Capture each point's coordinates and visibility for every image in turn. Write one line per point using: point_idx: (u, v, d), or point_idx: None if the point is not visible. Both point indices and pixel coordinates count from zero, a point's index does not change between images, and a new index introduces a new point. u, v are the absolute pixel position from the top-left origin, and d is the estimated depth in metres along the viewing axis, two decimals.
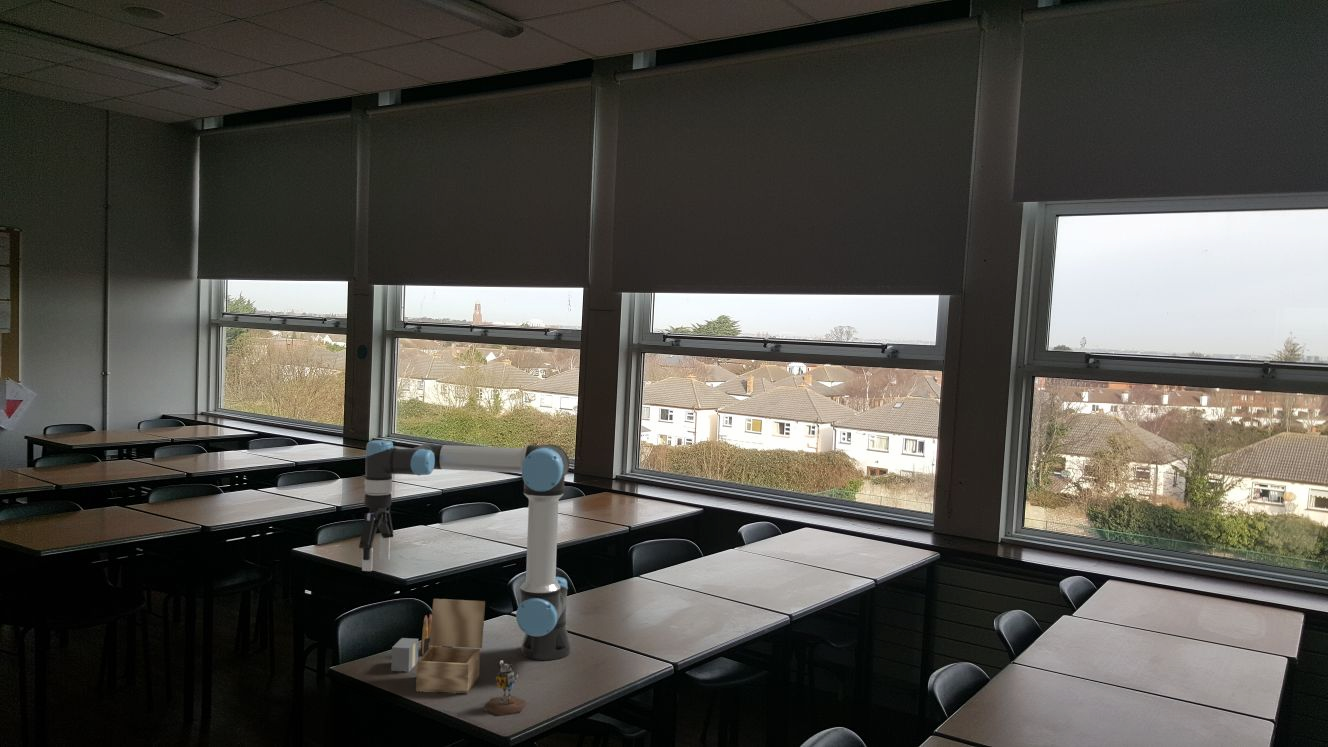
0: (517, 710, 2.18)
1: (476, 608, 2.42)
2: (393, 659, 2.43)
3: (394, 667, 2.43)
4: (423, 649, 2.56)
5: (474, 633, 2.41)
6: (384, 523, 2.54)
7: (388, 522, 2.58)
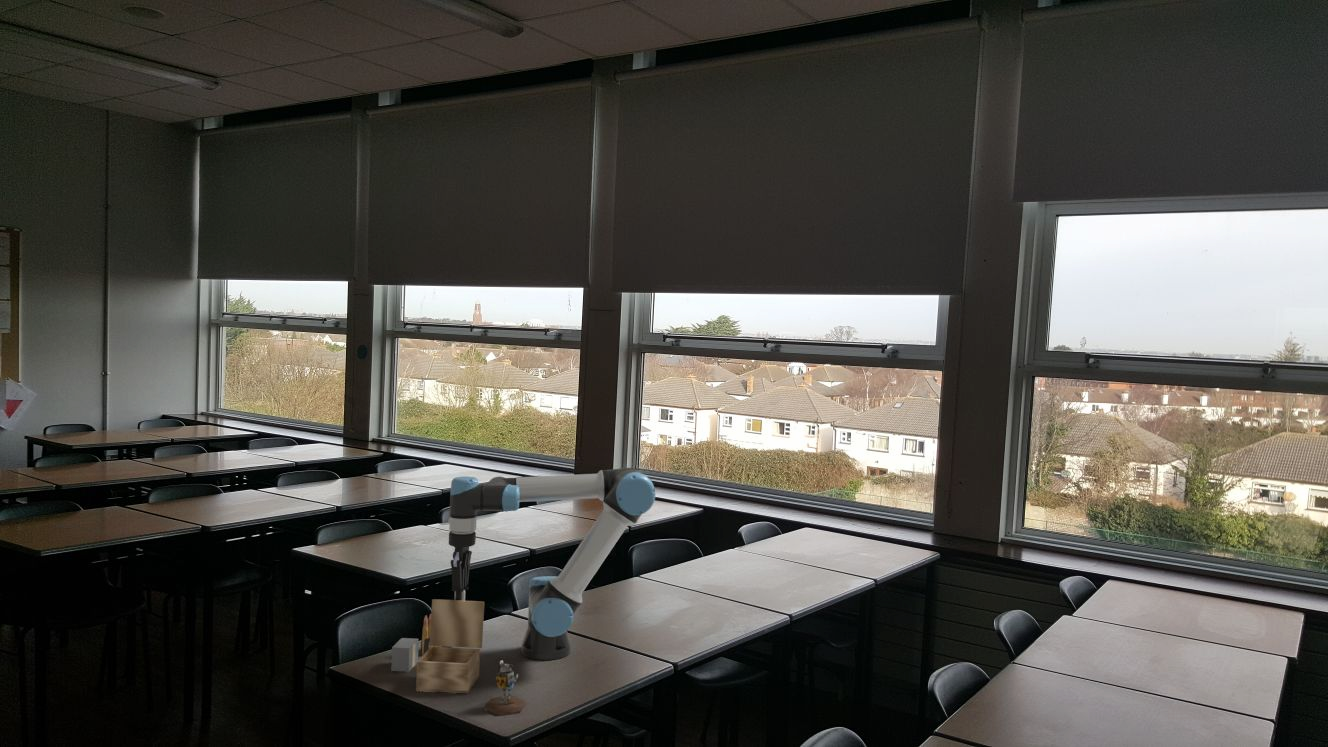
0: (517, 710, 2.18)
1: (475, 609, 2.41)
2: (393, 659, 2.43)
3: (394, 667, 2.43)
4: (423, 649, 2.56)
5: (474, 633, 2.41)
6: None
7: (466, 568, 2.47)
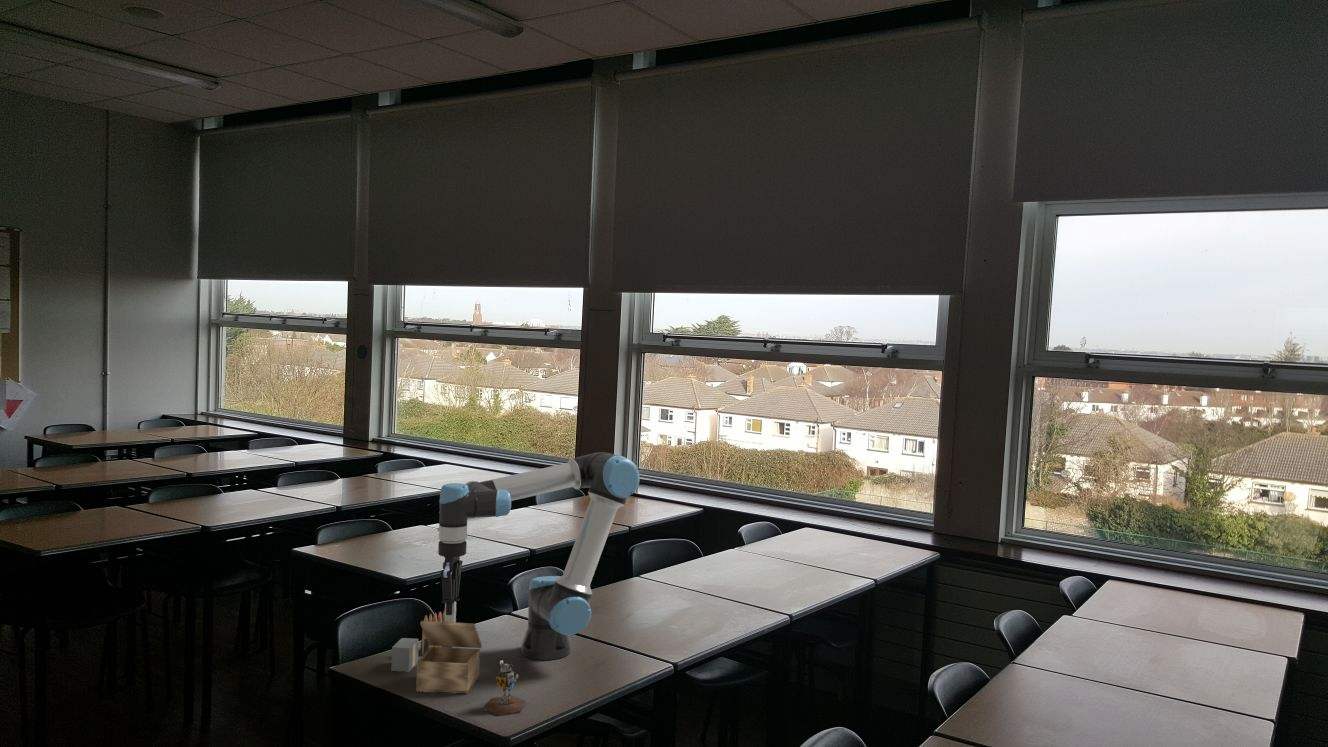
0: (517, 710, 2.18)
1: (467, 629, 2.33)
2: (393, 659, 2.43)
3: (394, 667, 2.43)
4: (423, 649, 2.56)
5: (471, 641, 2.38)
6: None
7: (457, 579, 2.38)
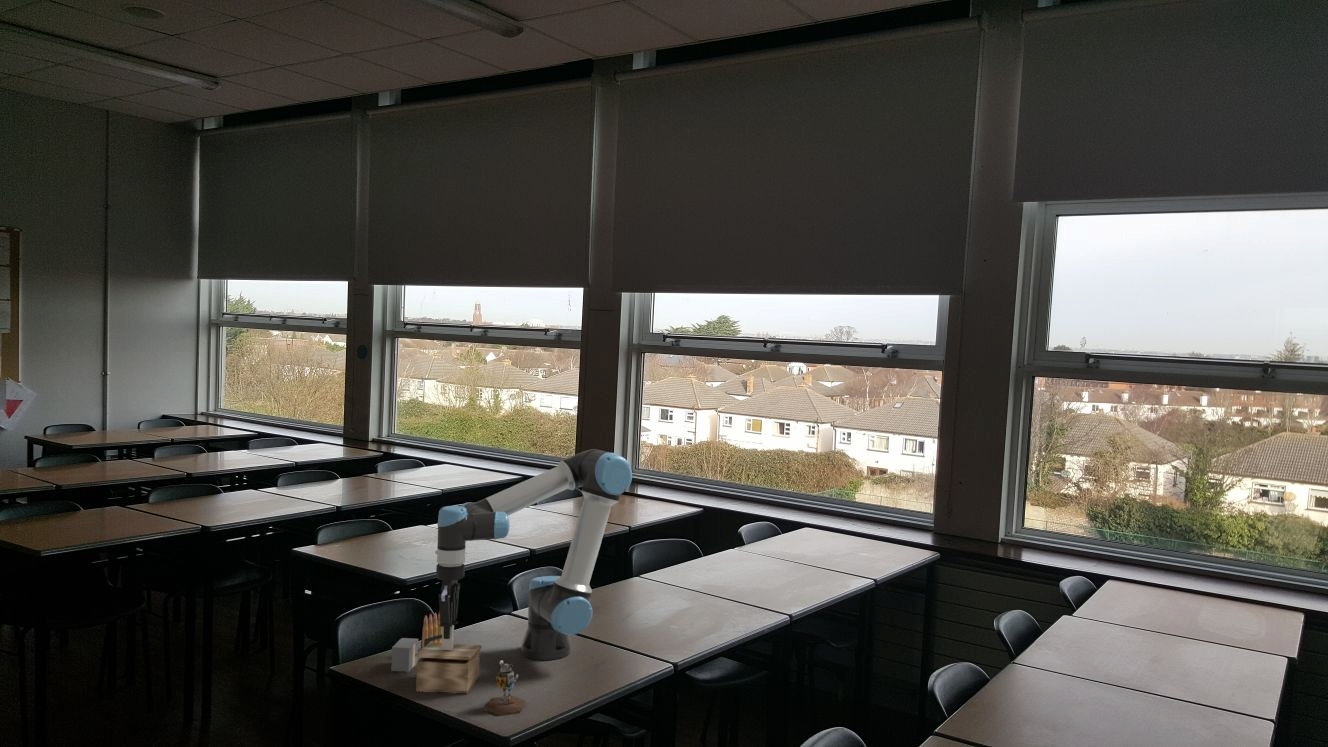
0: (517, 710, 2.18)
1: None
2: (393, 659, 2.43)
3: (394, 667, 2.43)
4: None
5: None
6: None
7: None
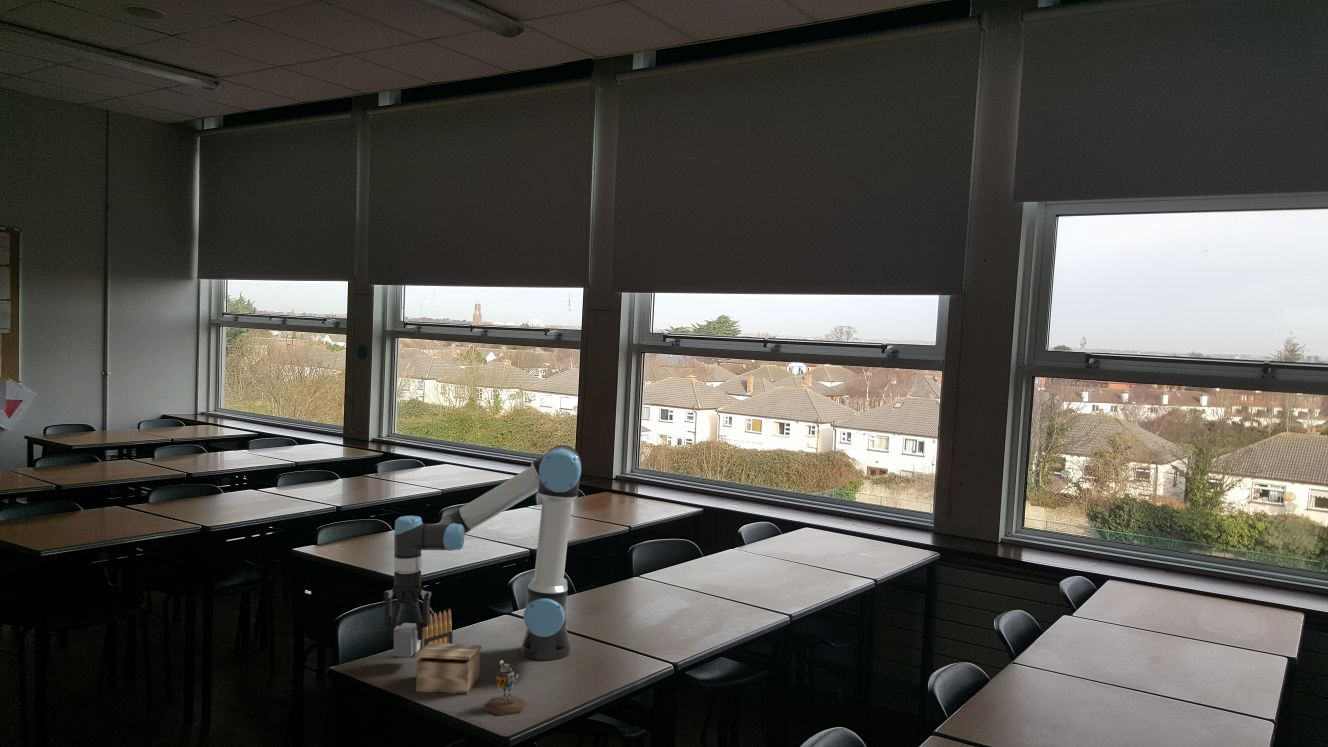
0: (517, 710, 2.18)
1: None
2: (395, 643, 2.42)
3: (396, 651, 2.43)
4: None
5: None
6: None
7: None
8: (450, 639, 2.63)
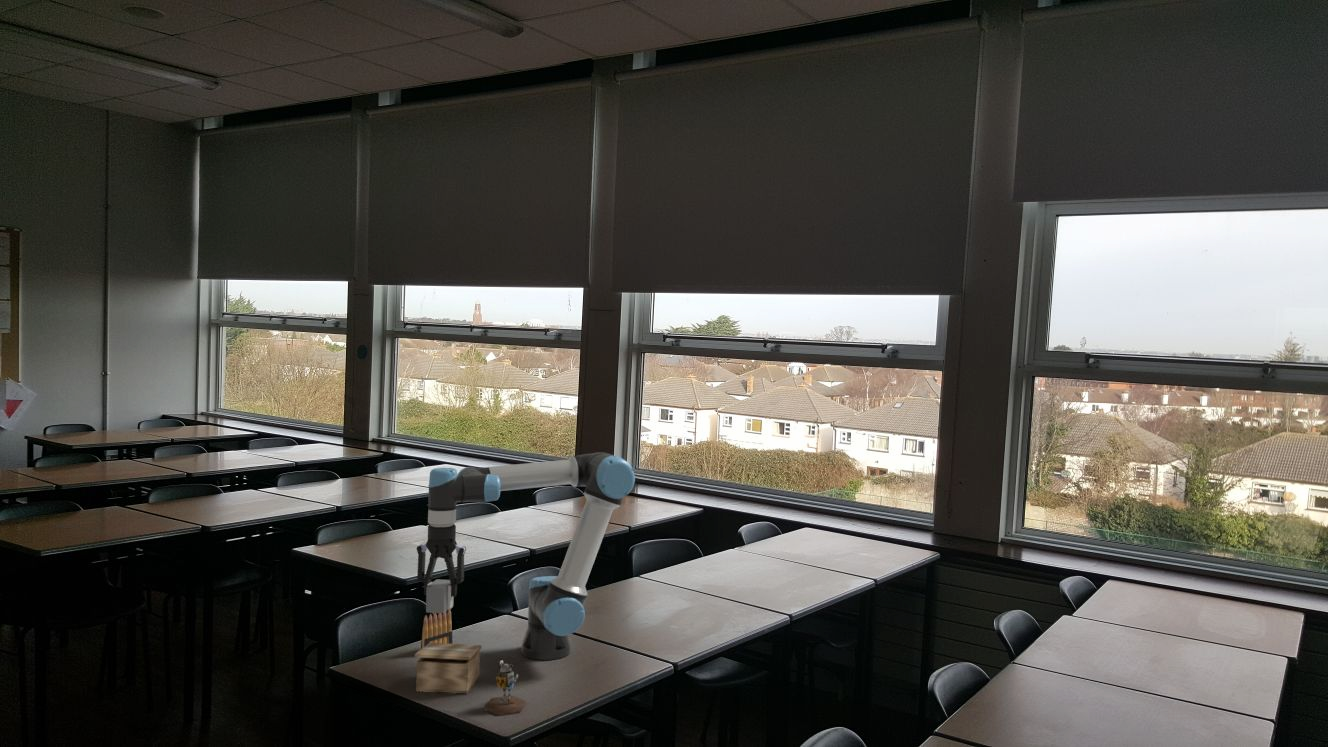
0: (517, 710, 2.18)
1: None
2: (428, 599, 2.33)
3: (428, 607, 2.33)
4: None
5: None
6: None
7: None
8: (450, 639, 2.63)
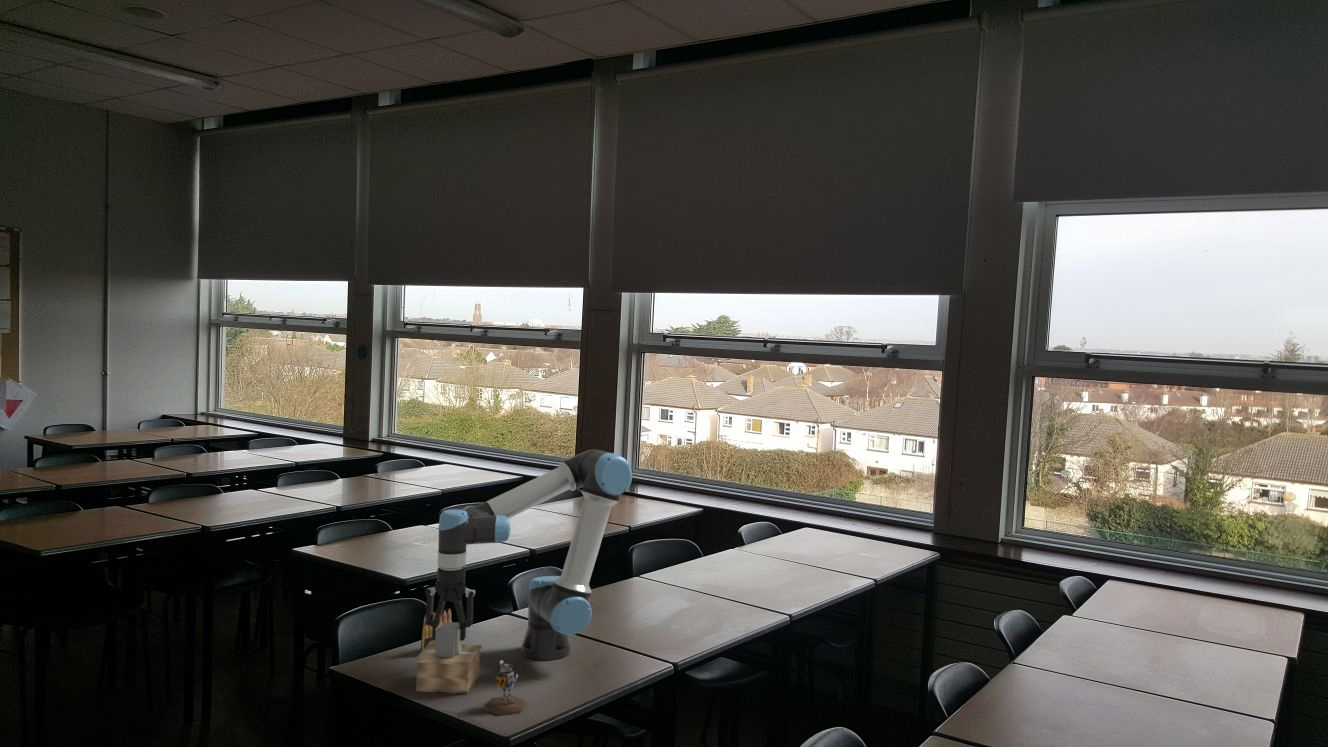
0: (517, 710, 2.18)
1: None
2: (437, 643, 2.30)
3: (437, 652, 2.30)
4: None
5: None
6: None
7: None
8: None
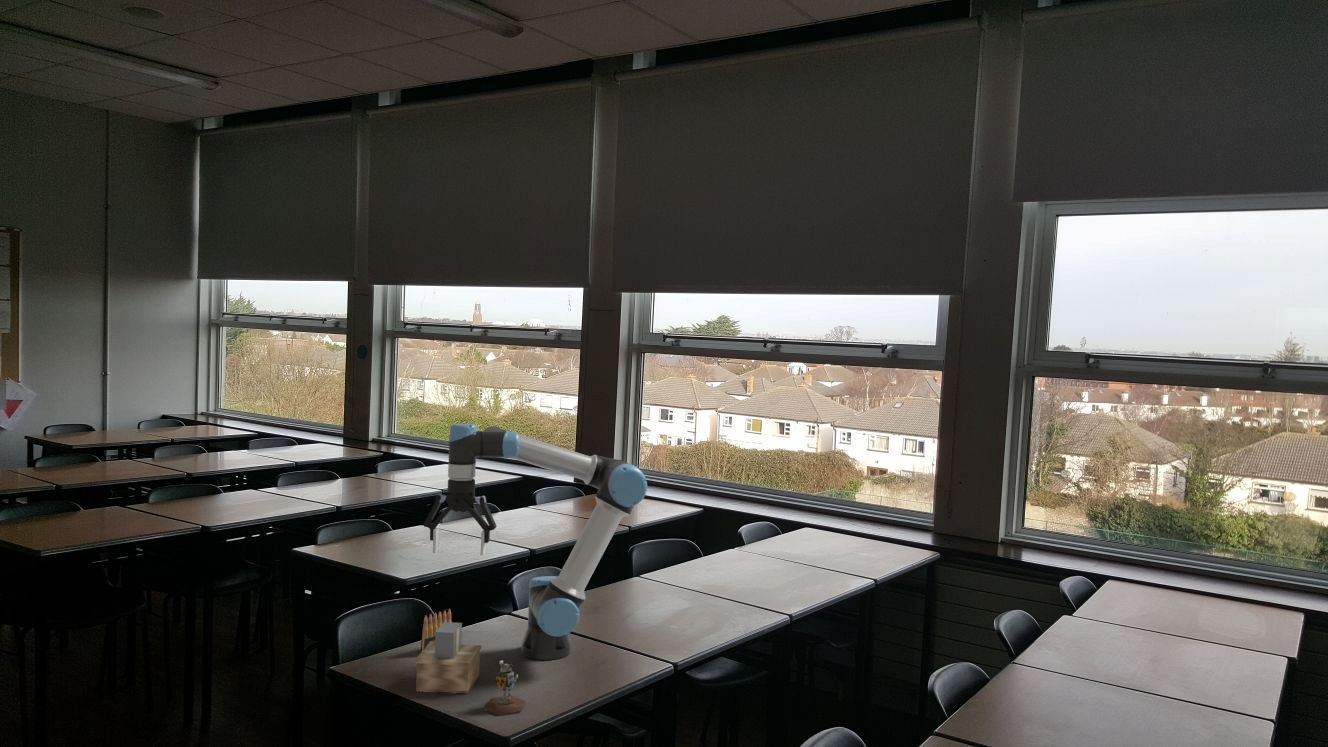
0: (517, 710, 2.18)
1: None
2: (436, 644, 2.30)
3: (437, 652, 2.30)
4: None
5: None
6: None
7: None
8: None
